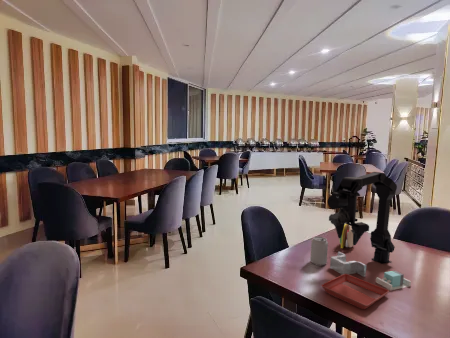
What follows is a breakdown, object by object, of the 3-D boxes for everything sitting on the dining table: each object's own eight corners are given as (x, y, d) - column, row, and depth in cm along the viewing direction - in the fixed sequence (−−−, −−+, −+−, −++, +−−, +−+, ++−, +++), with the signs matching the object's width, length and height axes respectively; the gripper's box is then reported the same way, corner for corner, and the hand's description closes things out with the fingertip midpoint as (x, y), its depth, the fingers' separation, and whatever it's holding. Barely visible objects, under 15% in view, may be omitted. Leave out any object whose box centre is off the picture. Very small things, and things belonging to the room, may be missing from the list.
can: (327, 266, 141) (329, 241, 139) (310, 265, 142) (312, 240, 141) (325, 260, 148) (327, 236, 147) (309, 258, 150) (311, 235, 148)
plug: (394, 280, 127) (395, 270, 127) (402, 285, 124) (403, 274, 123) (381, 283, 125) (382, 272, 124) (389, 288, 121) (390, 277, 121)
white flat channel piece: (395, 279, 130) (395, 273, 130) (410, 287, 123) (411, 281, 123) (375, 283, 126) (376, 277, 126) (390, 291, 119) (390, 285, 119)
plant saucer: (344, 280, 129) (345, 272, 128) (389, 298, 115) (390, 290, 115) (319, 293, 117) (320, 285, 117) (366, 315, 103) (367, 306, 103)
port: (338, 262, 146) (339, 251, 145) (365, 277, 131) (366, 265, 130) (324, 264, 143) (324, 253, 142) (349, 280, 128) (350, 267, 127)
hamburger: (352, 251, 162) (354, 229, 160) (336, 247, 166) (337, 226, 165) (357, 244, 172) (358, 224, 170) (341, 241, 176) (343, 221, 175)
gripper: (320, 203, 139) (318, 236, 141) (349, 213, 122) (347, 251, 123) (340, 201, 143) (338, 234, 144) (371, 211, 125) (368, 248, 127)
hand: (346, 241), depth 135 cm, fingers open, 9 cm apart
